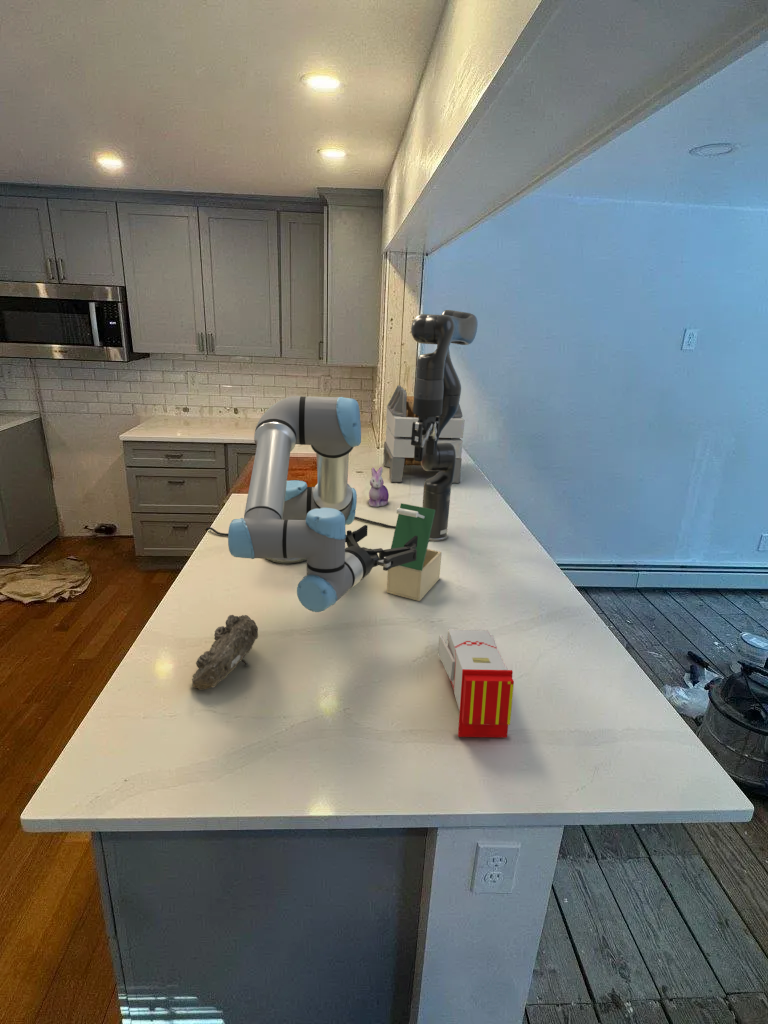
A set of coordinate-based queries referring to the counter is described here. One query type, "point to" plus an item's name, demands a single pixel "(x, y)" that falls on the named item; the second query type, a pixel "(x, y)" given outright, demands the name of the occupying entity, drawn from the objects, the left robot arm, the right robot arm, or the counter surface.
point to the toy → (478, 682)
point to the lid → (413, 531)
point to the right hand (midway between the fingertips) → (424, 457)
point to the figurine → (377, 489)
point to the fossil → (225, 651)
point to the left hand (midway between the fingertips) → (390, 535)
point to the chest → (415, 577)
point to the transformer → (400, 434)
